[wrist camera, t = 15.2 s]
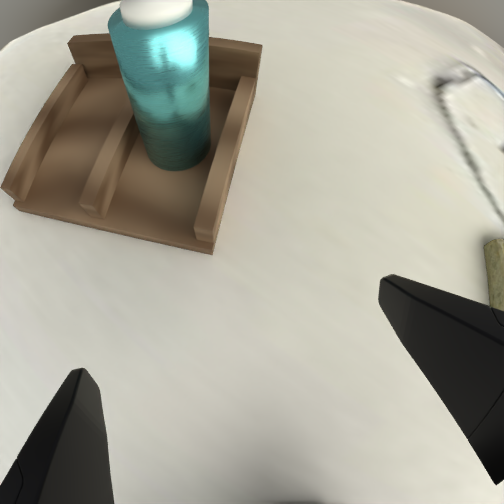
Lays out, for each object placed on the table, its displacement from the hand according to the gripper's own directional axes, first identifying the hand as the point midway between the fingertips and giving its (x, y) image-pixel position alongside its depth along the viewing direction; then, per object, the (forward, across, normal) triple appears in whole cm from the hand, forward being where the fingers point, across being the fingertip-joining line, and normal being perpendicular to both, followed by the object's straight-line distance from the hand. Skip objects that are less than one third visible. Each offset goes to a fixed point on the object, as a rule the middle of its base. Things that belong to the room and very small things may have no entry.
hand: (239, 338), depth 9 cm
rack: (+22, +3, -3) cm, 23 cm away
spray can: (+20, 0, -2) cm, 20 cm away
